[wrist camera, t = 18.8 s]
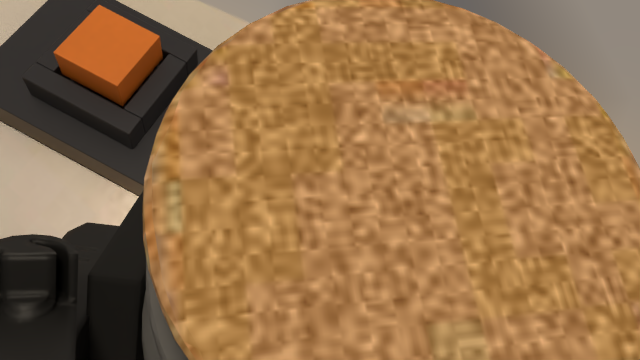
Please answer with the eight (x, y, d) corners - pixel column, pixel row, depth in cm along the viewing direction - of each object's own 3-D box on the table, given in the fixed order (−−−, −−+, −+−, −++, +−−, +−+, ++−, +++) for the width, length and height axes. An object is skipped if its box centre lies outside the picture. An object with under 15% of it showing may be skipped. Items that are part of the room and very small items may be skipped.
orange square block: (163, 58, 34) (160, 35, 32) (122, 107, 32) (117, 86, 31) (105, 28, 35) (98, 4, 33) (62, 74, 33) (52, 52, 31)
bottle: (155, 466, 17) (-85, 495, 4) (210, 276, 20) (190, -113, 6) (348, 508, 17) (788, 678, 4) (377, 316, 20) (697, 26, 7)
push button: (258, 94, 38) (262, 57, 35) (174, 215, 34) (169, 187, 30) (78, 0, 39) (64, -45, 36) (-27, 106, 35) (-55, 66, 31)
